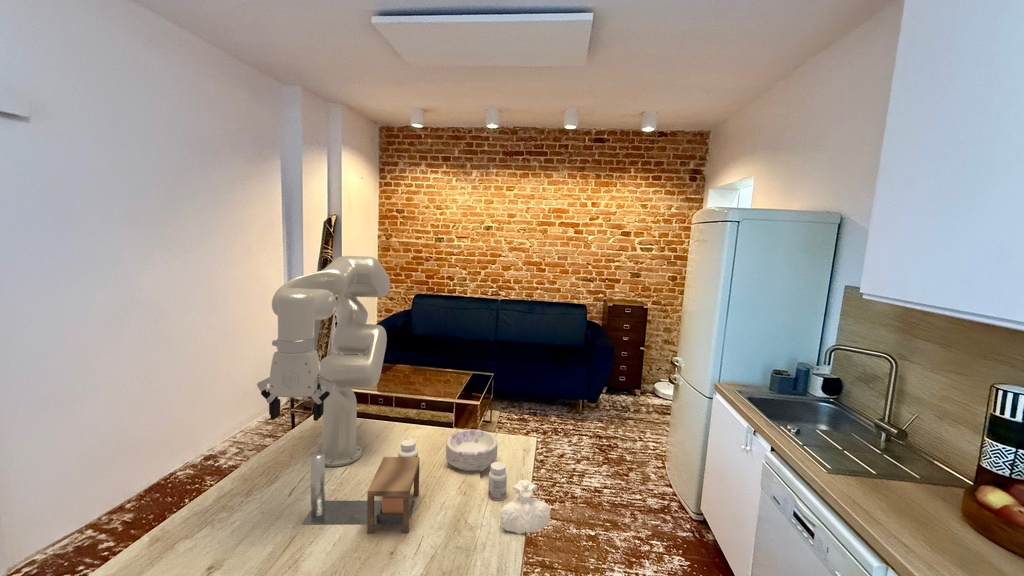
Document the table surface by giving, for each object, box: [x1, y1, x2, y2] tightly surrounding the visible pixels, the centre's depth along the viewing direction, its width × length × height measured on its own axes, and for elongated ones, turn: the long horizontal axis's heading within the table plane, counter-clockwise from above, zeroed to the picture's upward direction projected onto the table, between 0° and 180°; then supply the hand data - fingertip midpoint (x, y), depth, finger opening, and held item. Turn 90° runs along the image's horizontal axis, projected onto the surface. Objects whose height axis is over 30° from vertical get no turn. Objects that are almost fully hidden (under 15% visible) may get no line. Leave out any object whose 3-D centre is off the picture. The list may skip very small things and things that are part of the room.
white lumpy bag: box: [499, 479, 551, 535], centre depth 100 cm, size 12×8×11 cm
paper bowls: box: [445, 429, 498, 473], centre depth 126 cm, size 15×15×8 cm
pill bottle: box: [487, 461, 508, 501], centre depth 111 cm, size 5×5×8 cm
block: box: [381, 496, 403, 514], centre depth 101 cm, size 5×5×5 cm
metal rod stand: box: [301, 451, 416, 526], centre depth 100 cm, size 24×9×15 cm, turn 94°
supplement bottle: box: [397, 439, 419, 457], centre depth 119 cm, size 5×5×10 cm
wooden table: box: [366, 456, 421, 534], centre depth 101 cm, size 30×23×11 cm
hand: (296, 418), depth 98 cm, fingers open, 9 cm apart
